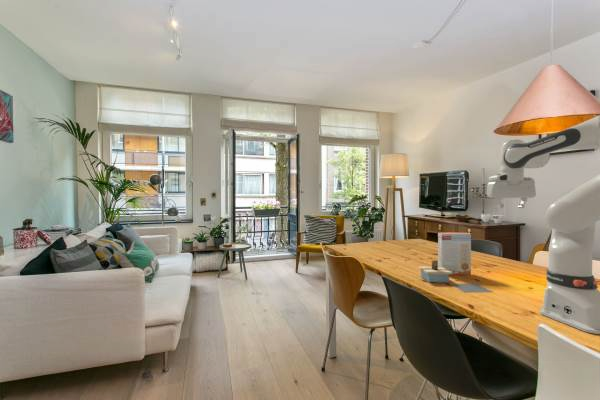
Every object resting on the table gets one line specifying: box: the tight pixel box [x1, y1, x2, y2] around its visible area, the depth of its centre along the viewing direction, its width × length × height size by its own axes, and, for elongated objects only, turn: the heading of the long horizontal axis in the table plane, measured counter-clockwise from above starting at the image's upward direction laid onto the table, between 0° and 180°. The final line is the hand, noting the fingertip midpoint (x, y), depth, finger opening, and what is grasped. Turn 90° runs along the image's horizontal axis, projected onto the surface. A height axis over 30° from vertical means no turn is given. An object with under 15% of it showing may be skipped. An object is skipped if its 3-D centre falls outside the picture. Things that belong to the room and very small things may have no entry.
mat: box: [450, 282, 493, 294], centre depth 131 cm, size 12×12×1 cm
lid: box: [418, 259, 452, 274], centre depth 142 cm, size 11×11×5 cm
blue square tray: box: [420, 270, 450, 284], centre depth 142 cm, size 9×9×4 cm
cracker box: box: [437, 231, 472, 276], centre depth 154 cm, size 14×6×21 cm, turn 85°
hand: (510, 208), depth 137 cm, fingers open, 8 cm apart
